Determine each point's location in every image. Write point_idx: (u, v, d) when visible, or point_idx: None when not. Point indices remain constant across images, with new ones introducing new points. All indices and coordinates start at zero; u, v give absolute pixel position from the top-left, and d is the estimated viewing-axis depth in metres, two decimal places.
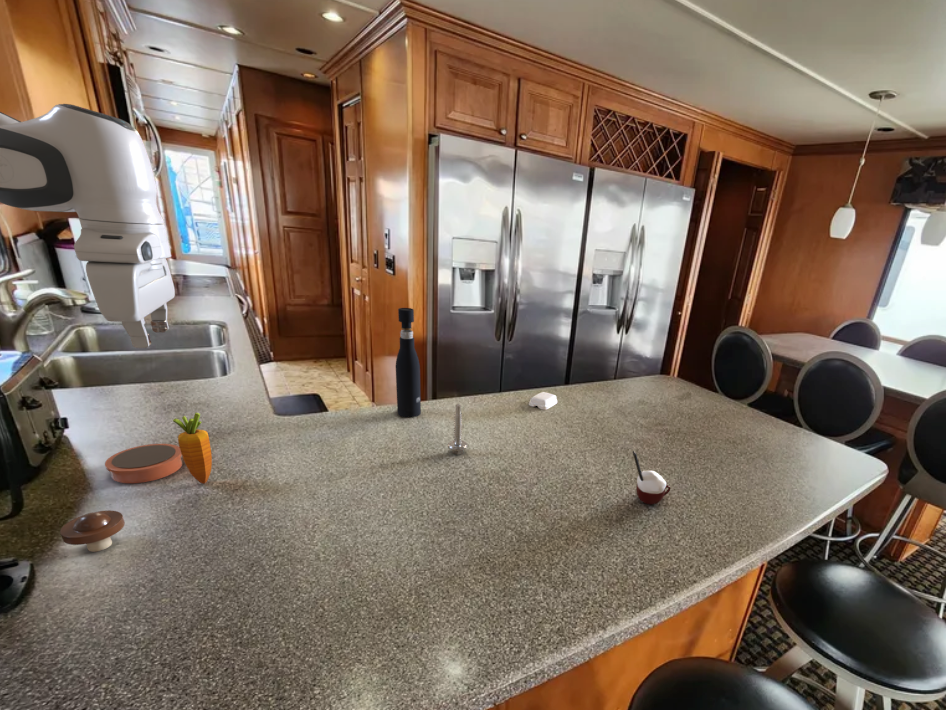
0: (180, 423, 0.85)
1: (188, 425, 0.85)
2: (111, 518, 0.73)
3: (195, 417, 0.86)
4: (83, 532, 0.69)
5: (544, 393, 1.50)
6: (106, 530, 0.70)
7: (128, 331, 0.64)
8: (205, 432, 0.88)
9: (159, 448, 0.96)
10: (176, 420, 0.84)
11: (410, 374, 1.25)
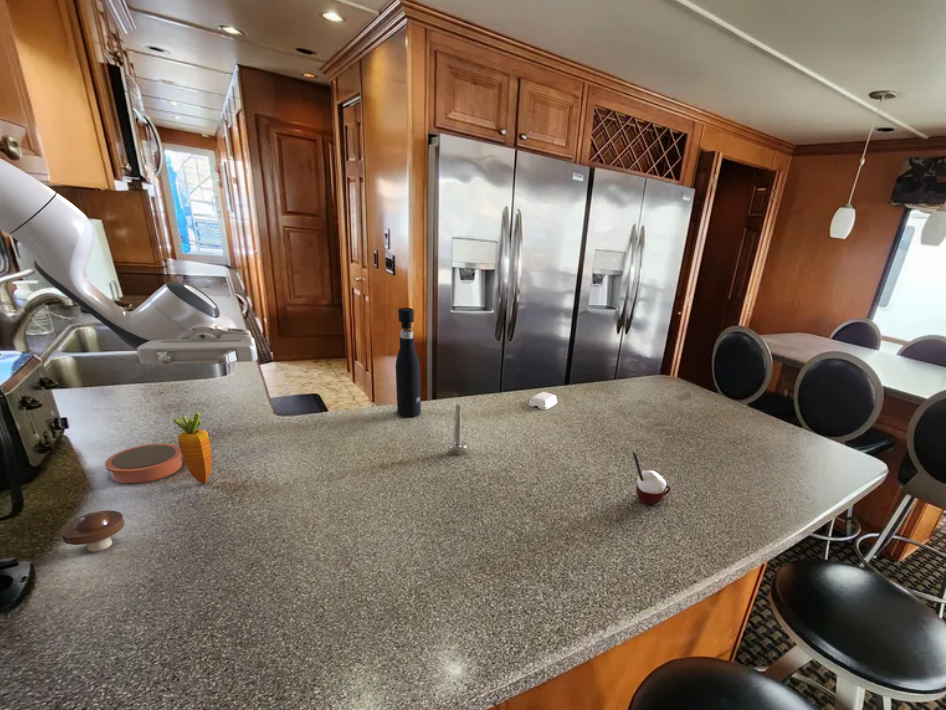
0: (180, 423, 0.85)
1: (188, 425, 0.85)
2: (111, 518, 0.73)
3: (195, 417, 0.86)
4: (83, 532, 0.69)
5: (544, 393, 1.50)
6: (106, 530, 0.70)
7: (231, 353, 0.96)
8: (205, 432, 0.88)
9: (159, 448, 0.96)
10: (176, 420, 0.84)
11: (410, 374, 1.25)
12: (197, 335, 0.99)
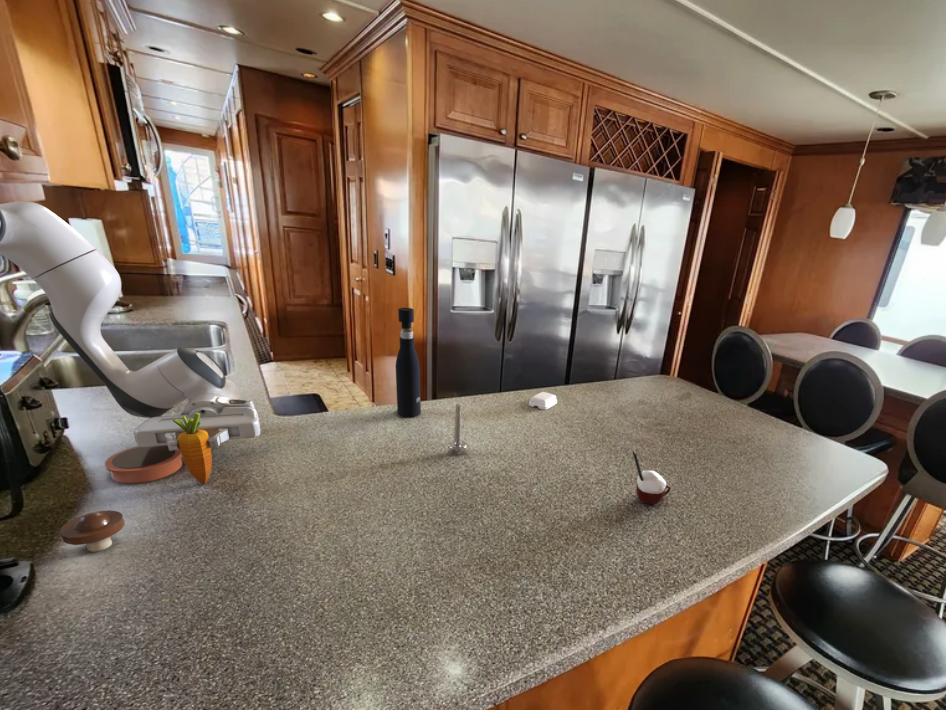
0: (180, 423, 0.85)
1: (188, 425, 0.85)
2: (111, 518, 0.73)
3: (195, 417, 0.86)
4: (83, 532, 0.69)
5: (544, 393, 1.50)
6: (106, 530, 0.70)
7: (222, 433, 0.91)
8: (205, 432, 0.88)
9: (159, 448, 0.96)
10: (176, 420, 0.84)
11: (410, 374, 1.25)
12: (197, 411, 0.94)
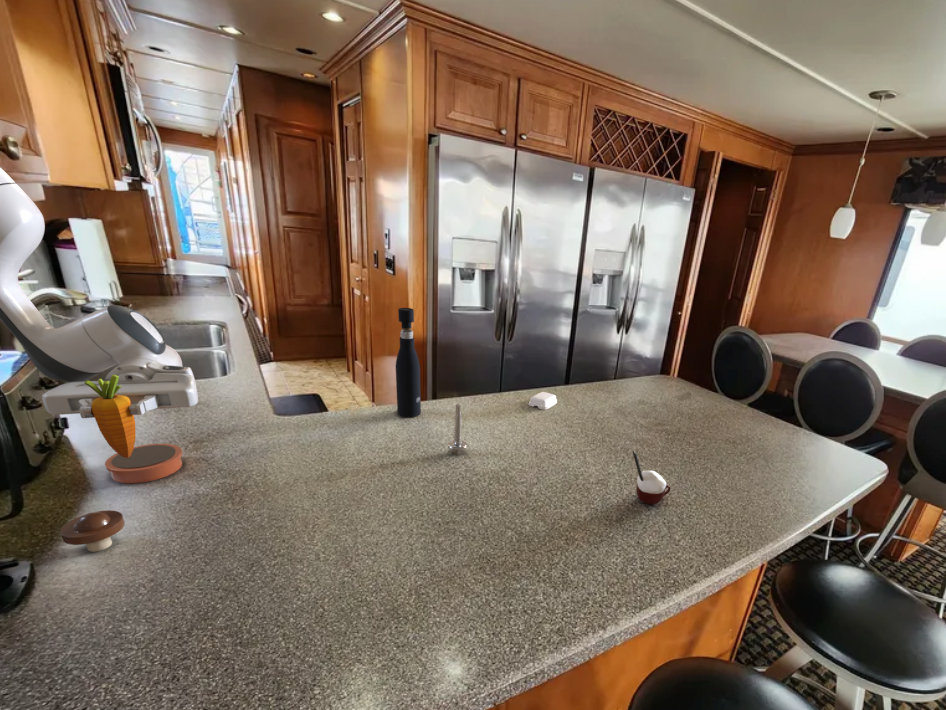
0: (93, 386, 0.73)
1: (103, 388, 0.74)
2: (111, 518, 0.73)
3: (112, 380, 0.75)
4: (83, 532, 0.69)
5: (544, 393, 1.50)
6: (106, 530, 0.70)
7: (148, 400, 0.79)
8: (126, 398, 0.77)
9: (159, 448, 0.96)
10: (88, 382, 0.73)
11: (410, 374, 1.25)
12: (123, 376, 0.83)
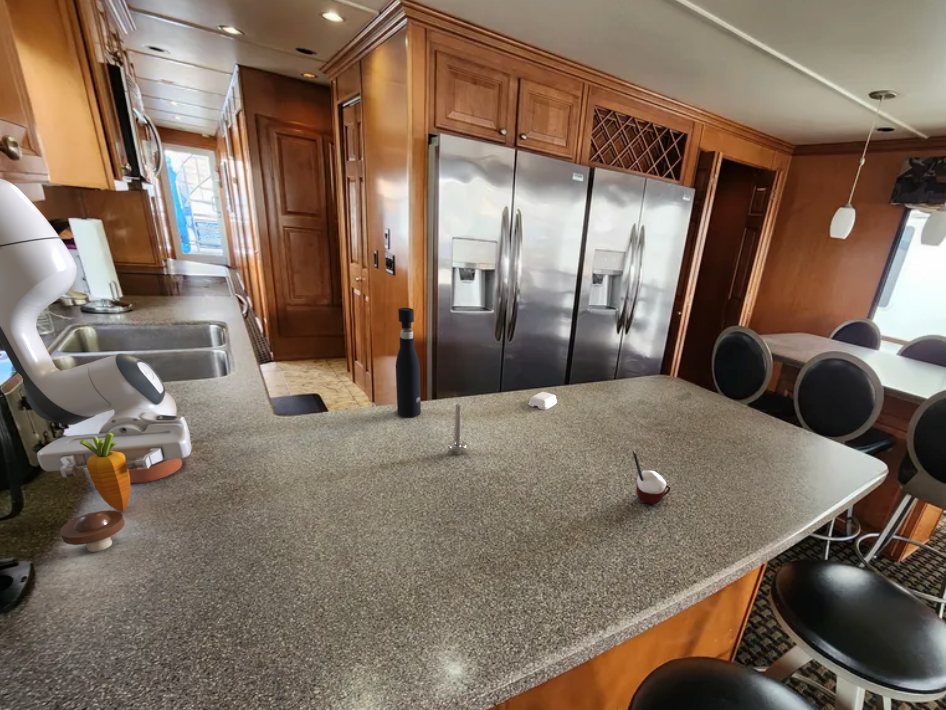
0: (88, 445, 0.75)
1: (98, 447, 0.75)
2: (111, 518, 0.73)
3: (107, 438, 0.76)
4: (83, 532, 0.69)
5: (544, 393, 1.50)
6: (106, 530, 0.70)
7: (154, 454, 0.81)
8: (120, 454, 0.78)
9: None
10: (83, 442, 0.74)
11: (410, 374, 1.25)
12: (117, 429, 0.84)
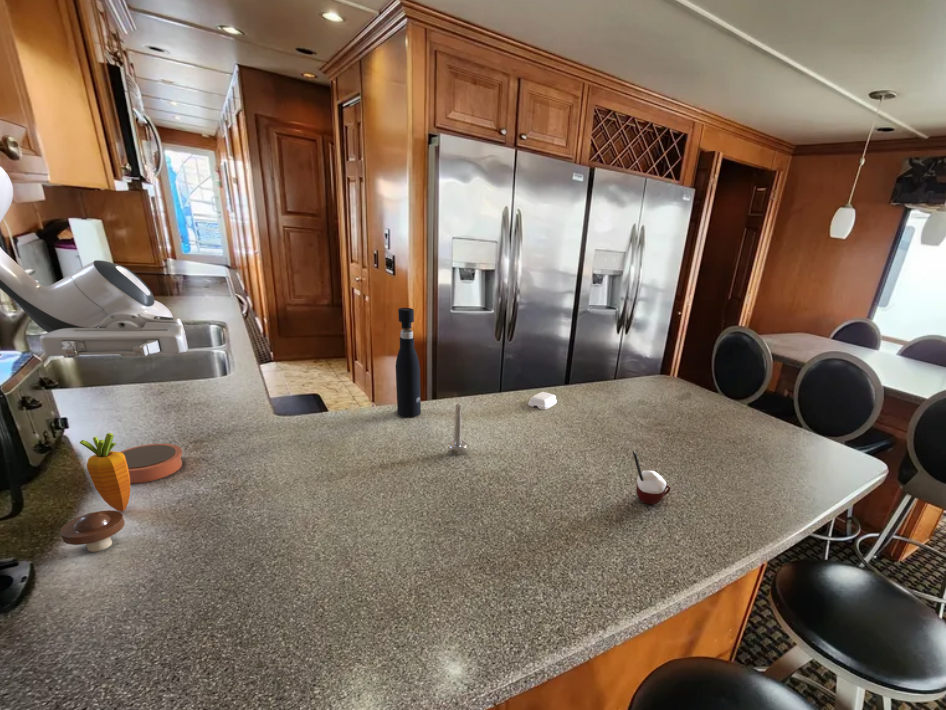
0: (88, 445, 0.75)
1: (98, 447, 0.75)
2: (111, 518, 0.73)
3: (107, 438, 0.76)
4: (83, 532, 0.69)
5: (543, 393, 1.50)
6: (106, 530, 0.70)
7: (151, 344, 0.85)
8: (120, 454, 0.78)
9: (159, 448, 0.96)
10: (83, 442, 0.74)
11: (410, 374, 1.25)
12: (115, 323, 0.88)
